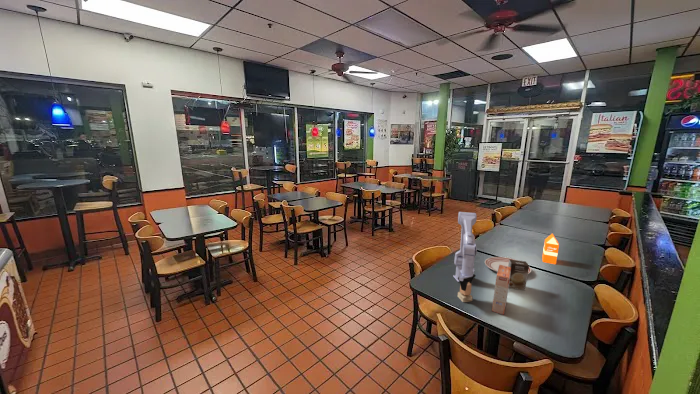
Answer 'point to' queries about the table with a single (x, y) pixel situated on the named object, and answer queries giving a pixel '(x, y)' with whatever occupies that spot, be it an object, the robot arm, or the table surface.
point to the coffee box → (518, 274)
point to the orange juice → (550, 250)
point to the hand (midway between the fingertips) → (465, 288)
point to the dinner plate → (499, 263)
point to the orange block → (468, 289)
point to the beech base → (464, 297)
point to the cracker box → (501, 289)
